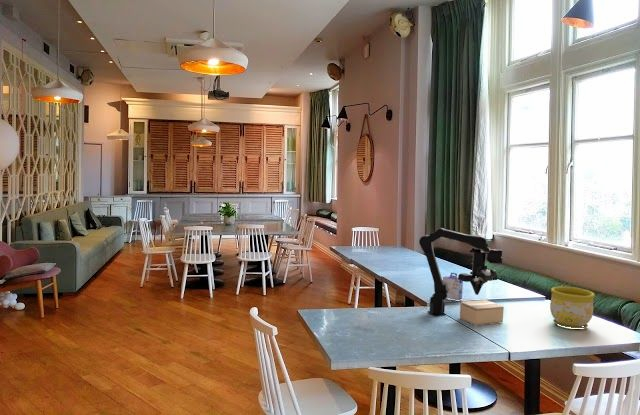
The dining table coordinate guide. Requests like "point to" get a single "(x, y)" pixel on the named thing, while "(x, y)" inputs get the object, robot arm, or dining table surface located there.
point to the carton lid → (481, 304)
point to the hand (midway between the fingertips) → (476, 294)
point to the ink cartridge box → (454, 286)
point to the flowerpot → (571, 306)
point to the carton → (481, 315)
